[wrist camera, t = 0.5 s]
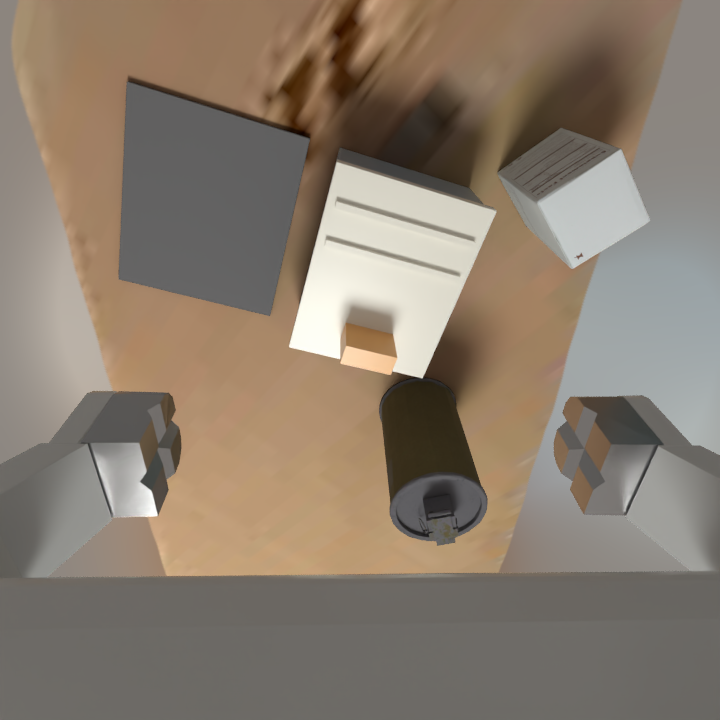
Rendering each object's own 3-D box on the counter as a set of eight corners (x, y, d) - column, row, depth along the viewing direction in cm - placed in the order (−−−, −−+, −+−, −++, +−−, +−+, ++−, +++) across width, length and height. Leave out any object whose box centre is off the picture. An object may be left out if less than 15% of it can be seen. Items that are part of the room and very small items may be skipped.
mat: (129, 81, 45) (126, 81, 45) (310, 138, 48) (309, 139, 48) (120, 277, 55) (118, 279, 55) (270, 313, 58) (269, 316, 58)
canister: (371, 386, 65) (382, 506, 48) (450, 369, 64) (489, 486, 47) (388, 445, 70) (403, 572, 53) (460, 431, 69) (499, 555, 52)
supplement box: (589, 186, 52) (654, 223, 41) (525, 228, 54) (570, 272, 43) (561, 124, 48) (624, 146, 38) (494, 170, 50) (535, 203, 40)
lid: (337, 156, 43) (336, 173, 37) (490, 204, 45) (511, 227, 40) (290, 336, 52) (284, 371, 46) (419, 367, 55) (428, 404, 49)
